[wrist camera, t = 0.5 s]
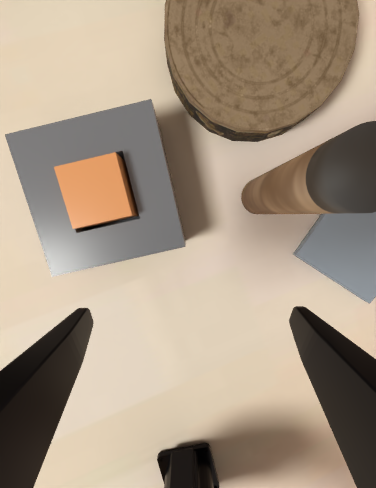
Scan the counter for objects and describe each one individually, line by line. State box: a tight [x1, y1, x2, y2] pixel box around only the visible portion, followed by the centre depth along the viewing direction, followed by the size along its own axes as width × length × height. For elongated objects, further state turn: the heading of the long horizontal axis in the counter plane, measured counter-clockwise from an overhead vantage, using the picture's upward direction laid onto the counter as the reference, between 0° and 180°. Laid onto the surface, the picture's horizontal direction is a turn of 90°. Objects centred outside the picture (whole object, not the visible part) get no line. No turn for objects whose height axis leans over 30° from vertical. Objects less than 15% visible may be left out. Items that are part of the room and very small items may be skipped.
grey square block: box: [5, 99, 185, 277], centre depth 19 cm, size 12×12×4 cm
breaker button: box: [54, 152, 139, 229], centre depth 18 cm, size 5×5×3 cm
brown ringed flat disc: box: [164, 0, 359, 142], centre depth 18 cm, size 16×16×3 cm
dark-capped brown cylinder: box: [241, 121, 376, 214], centre depth 15 cm, size 4×4×13 cm
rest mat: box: [293, 212, 376, 303], centre depth 22 cm, size 10×10×1 cm
